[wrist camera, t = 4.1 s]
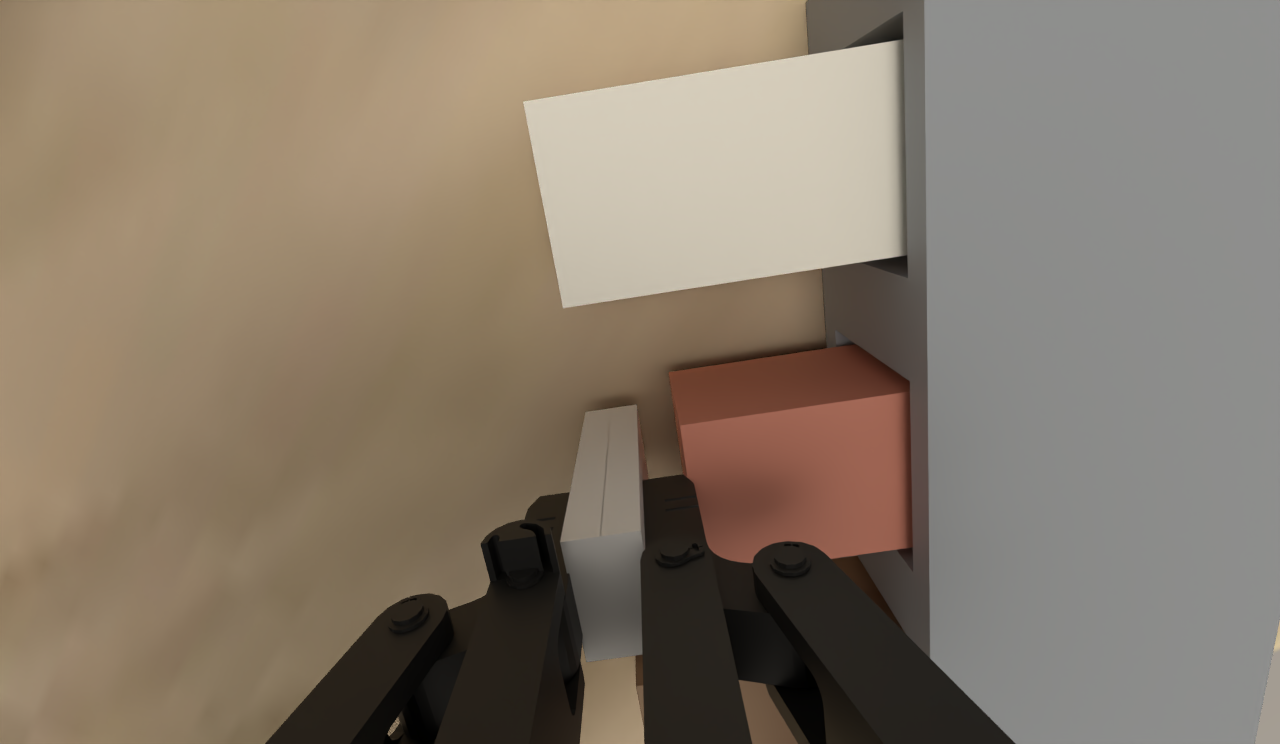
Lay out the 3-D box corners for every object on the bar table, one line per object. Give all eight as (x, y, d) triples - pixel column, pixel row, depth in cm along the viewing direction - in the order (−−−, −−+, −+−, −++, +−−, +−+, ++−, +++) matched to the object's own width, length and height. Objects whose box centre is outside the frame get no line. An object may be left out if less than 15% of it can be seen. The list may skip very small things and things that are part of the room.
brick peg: (686, 495, 18) (701, 576, 15) (668, 372, 17) (680, 425, 13) (981, 452, 18) (1076, 524, 14) (984, 324, 17) (1088, 365, 13)
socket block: (846, 674, 22) (931, 864, 16) (805, 2, 16) (923, -118, 9) (1065, 644, 22) (1237, 826, 16) (1116, -49, 15) (1445, -207, 9)
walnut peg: (652, 685, 20) (658, 800, 17) (634, 587, 19) (636, 686, 15) (916, 648, 20) (983, 756, 16) (914, 547, 19) (986, 638, 15)
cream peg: (578, 279, 16) (563, 308, 13) (549, 122, 15) (523, 101, 11) (908, 228, 16) (996, 240, 12) (906, 64, 15) (1002, 22, 11)
